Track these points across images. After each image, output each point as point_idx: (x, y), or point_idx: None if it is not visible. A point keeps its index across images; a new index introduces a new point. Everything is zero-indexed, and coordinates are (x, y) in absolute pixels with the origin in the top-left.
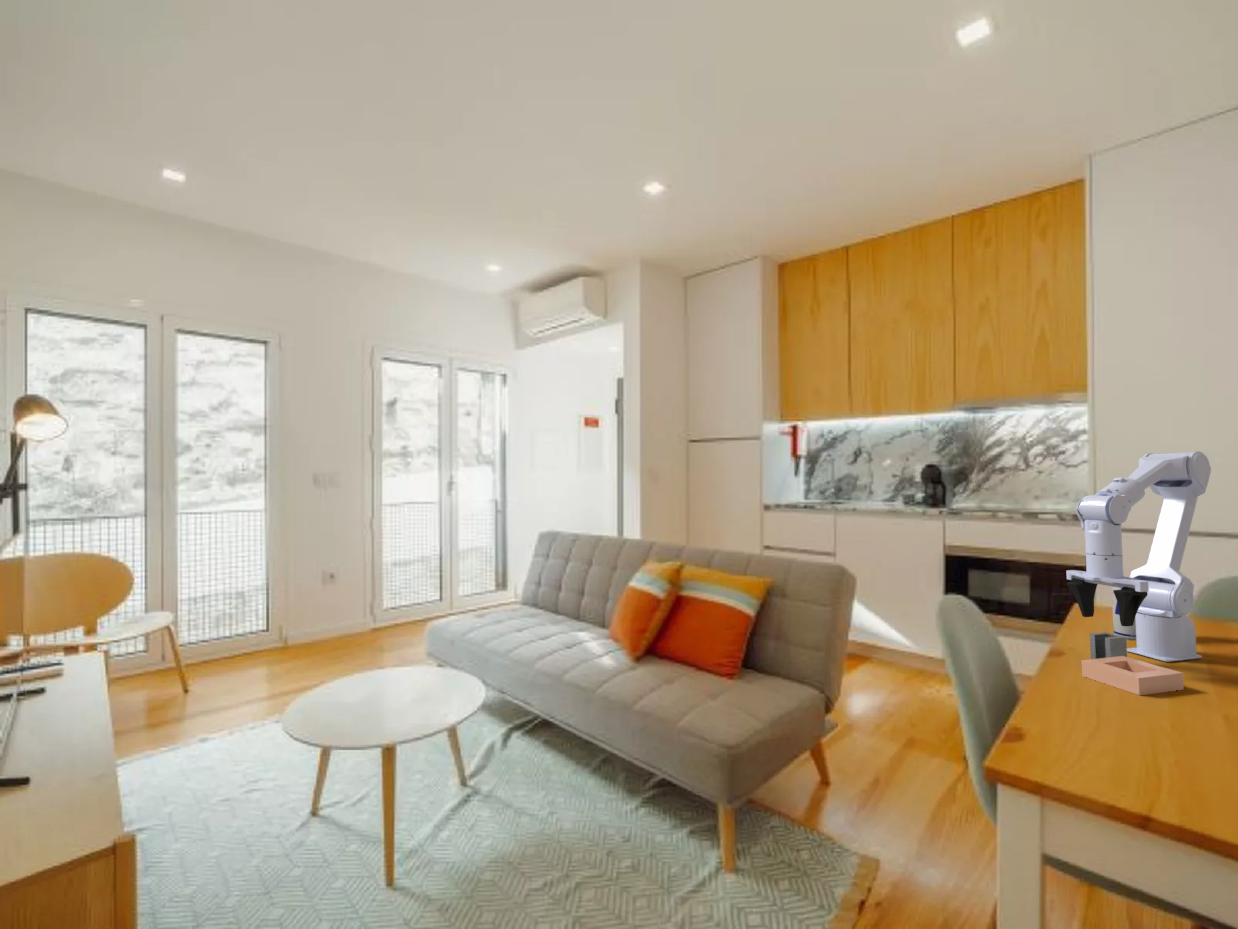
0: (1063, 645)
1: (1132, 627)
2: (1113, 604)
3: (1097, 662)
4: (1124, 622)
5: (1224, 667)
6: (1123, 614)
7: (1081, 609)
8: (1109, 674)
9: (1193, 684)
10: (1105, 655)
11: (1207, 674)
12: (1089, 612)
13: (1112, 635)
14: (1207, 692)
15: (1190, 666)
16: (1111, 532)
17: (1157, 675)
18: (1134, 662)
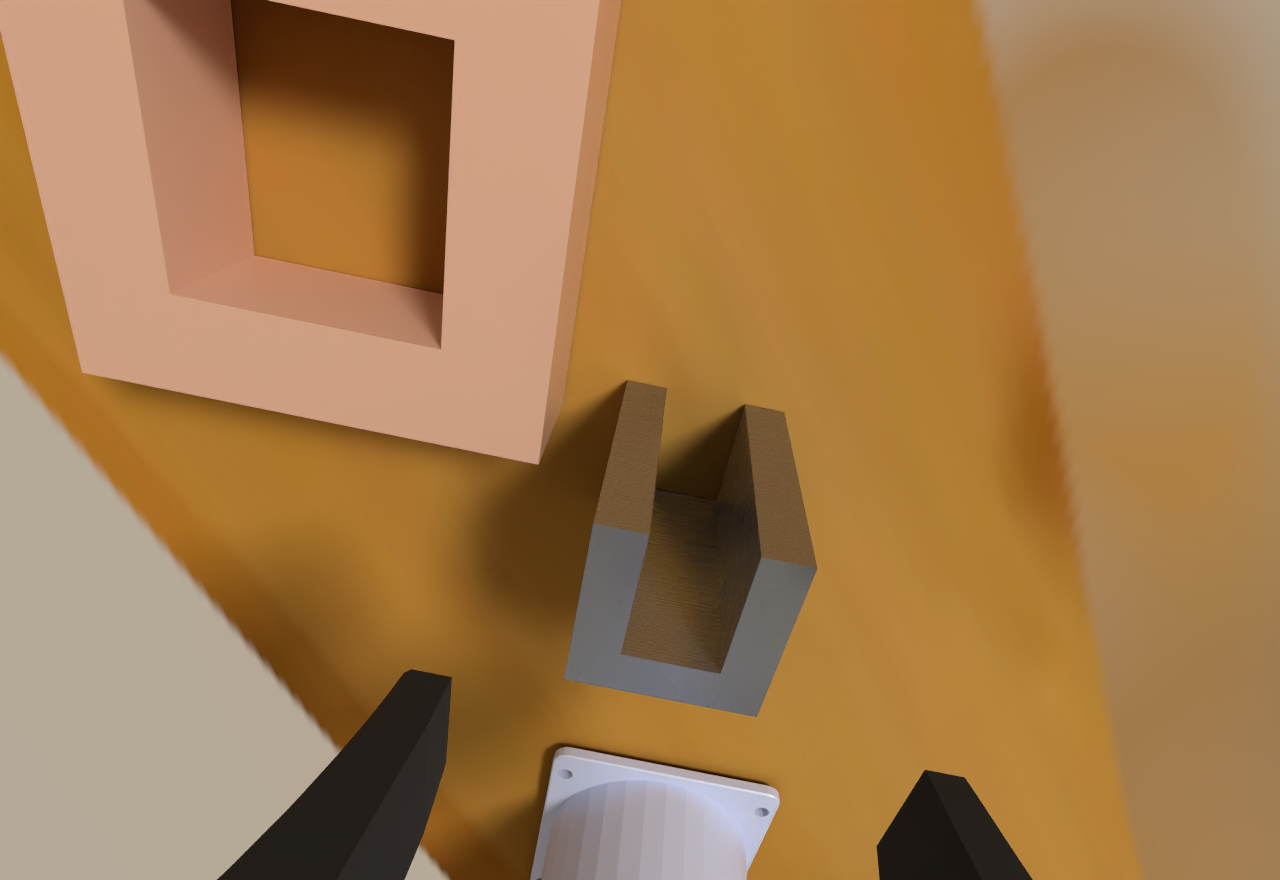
0: (1086, 663)
1: None
2: None
3: (490, 3)
4: (383, 708)
5: None
6: (308, 804)
7: (1007, 872)
8: None
9: (254, 485)
10: (722, 521)
11: (366, 698)
12: (914, 875)
13: (663, 662)
14: (121, 397)
15: (479, 760)
16: None
17: (24, 92)
18: (379, 349)
